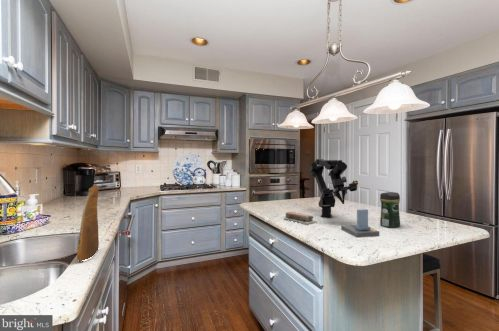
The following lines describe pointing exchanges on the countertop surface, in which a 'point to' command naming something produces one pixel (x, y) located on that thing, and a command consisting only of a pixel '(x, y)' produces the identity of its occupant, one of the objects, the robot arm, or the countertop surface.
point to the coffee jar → (390, 209)
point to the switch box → (359, 231)
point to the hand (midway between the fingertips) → (343, 203)
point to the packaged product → (299, 218)
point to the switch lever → (362, 220)
